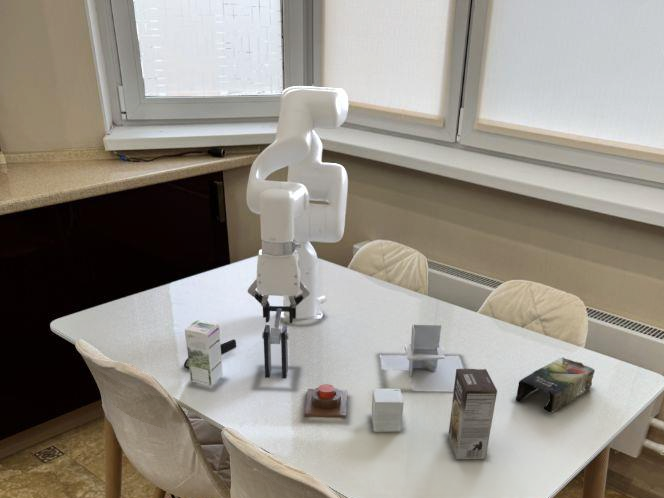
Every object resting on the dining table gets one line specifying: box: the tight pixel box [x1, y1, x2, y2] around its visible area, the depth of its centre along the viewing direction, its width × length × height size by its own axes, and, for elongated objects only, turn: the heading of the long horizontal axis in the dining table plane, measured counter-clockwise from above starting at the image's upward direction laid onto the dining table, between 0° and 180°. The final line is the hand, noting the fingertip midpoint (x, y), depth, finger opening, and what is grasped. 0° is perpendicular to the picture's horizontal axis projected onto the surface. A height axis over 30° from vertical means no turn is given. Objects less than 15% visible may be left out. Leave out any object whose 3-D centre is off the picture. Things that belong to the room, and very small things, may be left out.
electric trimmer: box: [183, 338, 237, 372], centre depth 171 cm, size 4×16×3 cm, turn 142°
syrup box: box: [184, 320, 224, 387], centre depth 158 cm, size 6×6×14 cm
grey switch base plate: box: [379, 324, 465, 393], centre depth 167 cm, size 19×21×12 cm
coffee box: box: [448, 368, 498, 460], centre depth 139 cm, size 9×6×16 cm
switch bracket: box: [261, 324, 290, 379], centre depth 162 cm, size 11×9×13 cm
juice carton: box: [515, 356, 595, 414], centre depth 162 cm, size 20×10×6 cm, turn 136°
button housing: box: [303, 387, 348, 419], centre depth 153 cm, size 11×9×4 cm
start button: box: [317, 383, 336, 398], centre depth 152 cm, size 4×4×2 cm
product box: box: [370, 388, 405, 433], centre depth 148 cm, size 6×6×7 cm
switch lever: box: [269, 305, 290, 345], centre depth 162 cm, size 12×5×2 cm, turn 0°
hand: (279, 319), depth 167 cm, fingers closed on switch lever, 5 cm apart
